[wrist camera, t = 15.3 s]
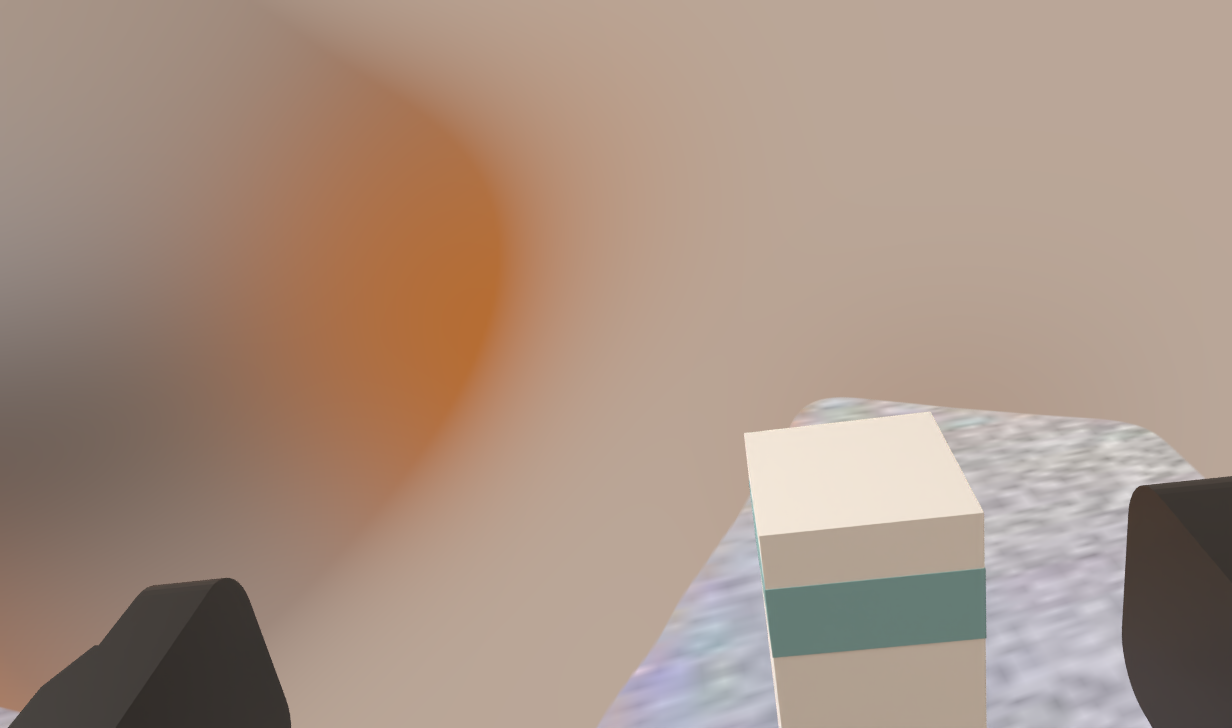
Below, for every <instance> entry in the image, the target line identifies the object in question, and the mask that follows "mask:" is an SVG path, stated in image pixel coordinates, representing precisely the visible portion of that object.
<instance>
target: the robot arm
mask: <svg viewBox="0 0 1232 728" xmlns="http://www.w3.org/2000/svg"><path fill="white" fill-rule="evenodd" d="M1122 644H1123V653H1124V659H1125V664H1126V668H1127V672H1128V676H1129V679H1130V683H1131V686H1132V688H1133V691H1134V694H1135V696H1136V698H1137V701H1138V703H1139V705H1140V707H1141V709H1142V711H1143V712H1144V714H1145V716H1146V717H1147V719H1148V721H1149V723H1150V724H1151V726H1152V728H1232V476H1230V477H1221V478H1210V479H1201V480H1191V481H1181V482H1172V483H1162V484H1152V485H1143V486H1139V487H1138V488H1136V489H1135V491H1134V492H1133V494H1132V497H1131V500H1130V504H1129V513H1128V529H1127V547H1126V565H1125V583H1124V602H1123V620H1122ZM8 728H291V720H290V713H289V708H288V704H287V702H286V698H285V696H284V693H283V690H282V687H281V685H280V682H279V679H278V677H277V674H276V671H275V668H274V666H273V663H272V660H271V657H270V655H269V652H268V649H267V646H266V644H265V641H264V639H263V636H262V633H261V630H260V628H259V625H258V622H257V619H256V617H255V614H254V611H253V608H252V606H251V603H250V600H249V598H248V596H247V594H246V592H245V590H244V589H243V587H242V586H241V585H240V584H239V583H238V582H237V581H236V580H234V579H231V578H221V579H211V580H203V581H192V582H182V583H173V584H163V585H153V586H150V587H148V588H146V589H145V590H143V591H142V592H141V593H140V594H139V595H138V596H137V597H136V598H135V600H134V601H133V602H132V604H131V605H130V606H129V607H128V609H127V610H126V611H125V612H124V614H123V615H122V616H121V618H120V619H119V620H118V621H117V623H116V624H115V625H114V627H113V628H112V629H111V630H110V632H109V633H108V634H107V635H106V637H105V638H104V639H103V641H102V642H101V643H100V644H99V645H97V646H93V647H92V648H91V649H90V650H88V651H87V652H86V653H84V654H83V655H82V656H80V657H79V658H78V659H77V660H75V661H74V662H73V663H71V664H70V665H69V666H68V667H66V668H65V669H64V670H62V671H61V672H60V673H59V674H57V675H56V676H55V677H54V678H52V679H51V680H50V681H49V682H47V683H46V684H45V685H43V686H42V687H41V688H40V689H39V690H38V692H37V693H36V694H35V695H34V696H33V698H32V699H31V700H30V701H29V703H28V704H27V705H26V706H25V708H24V709H23V710H22V711H21V712H20V714H19V715H18V716H17V717H16V719H15V720H14V721H13V722H12V723H11V725H10V726H9V727H8Z"/></svg>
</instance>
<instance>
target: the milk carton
mask: <svg viewBox="0 0 1232 728" xmlns="http://www.w3.org/2000/svg"><path fill="white" fill-rule="evenodd" d="M744 438H745V447H746V455H747V463H748V472H749V486H750V494H751V502H752V511H753V519H754V528H755V536H756V544H757V551H758V558H759V565H760V573H761V581H762V590H763V598H764V607H765V615H766V623H767V632H768V640H769V649H770V657H771V665H772V674H773V682H774V691H775V699H776V707H777V716H778V724H779V728H986V649H985V638H986V569H985V565H984V512H983V510H982V508H981V506H980V504H979V503H978V501H977V499H976V497H975V495H974V493H973V491H972V489H971V487H970V486H969V484H968V482H967V480H966V478H965V476H964V474H963V472H962V470H961V469H960V467H959V465H958V463H957V461H956V459H955V457H954V455H953V453H952V452H951V450H950V448H949V446H948V444H947V442H946V440H945V438H944V436H943V435H942V433H941V431H940V429H939V427H938V425H937V423H936V421H935V419H934V418H933V416H932V414H931V412H923V413H915V414H906V415H897V416H889V417H880V418H871V419H863V420H854V421H845V422H837V423H828V424H819V425H811V426H802V427H793V428H785V429H776V430H768V431H759V432H750V433H744Z"/></svg>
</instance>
